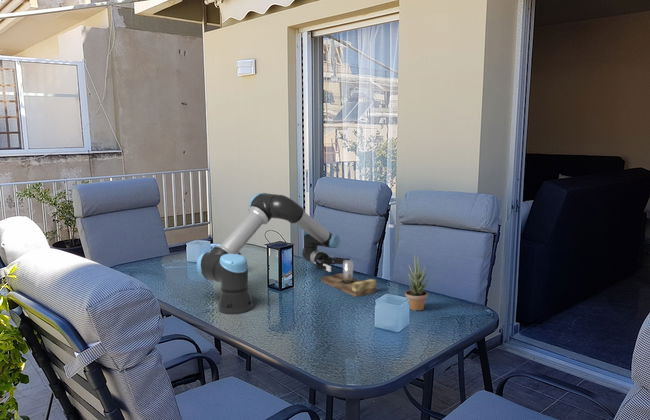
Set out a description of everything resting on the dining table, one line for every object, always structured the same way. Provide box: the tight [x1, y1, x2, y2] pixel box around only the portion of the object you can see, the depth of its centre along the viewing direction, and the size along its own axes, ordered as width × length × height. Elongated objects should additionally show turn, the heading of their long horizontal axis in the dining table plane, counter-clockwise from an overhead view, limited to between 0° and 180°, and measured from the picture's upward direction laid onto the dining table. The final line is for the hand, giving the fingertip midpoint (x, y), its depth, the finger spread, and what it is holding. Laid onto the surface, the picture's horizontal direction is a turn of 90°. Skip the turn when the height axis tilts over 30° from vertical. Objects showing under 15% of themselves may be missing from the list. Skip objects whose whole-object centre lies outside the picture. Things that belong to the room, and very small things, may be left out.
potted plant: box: [404, 254, 430, 311], centre depth 223 cm, size 10×10×25 cm
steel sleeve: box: [342, 259, 354, 284], centre depth 257 cm, size 5×5×13 cm
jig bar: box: [321, 272, 377, 298], centre depth 258 cm, size 12×30×6 cm, turn 32°
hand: (341, 267), depth 262 cm, fingers open, 13 cm apart
